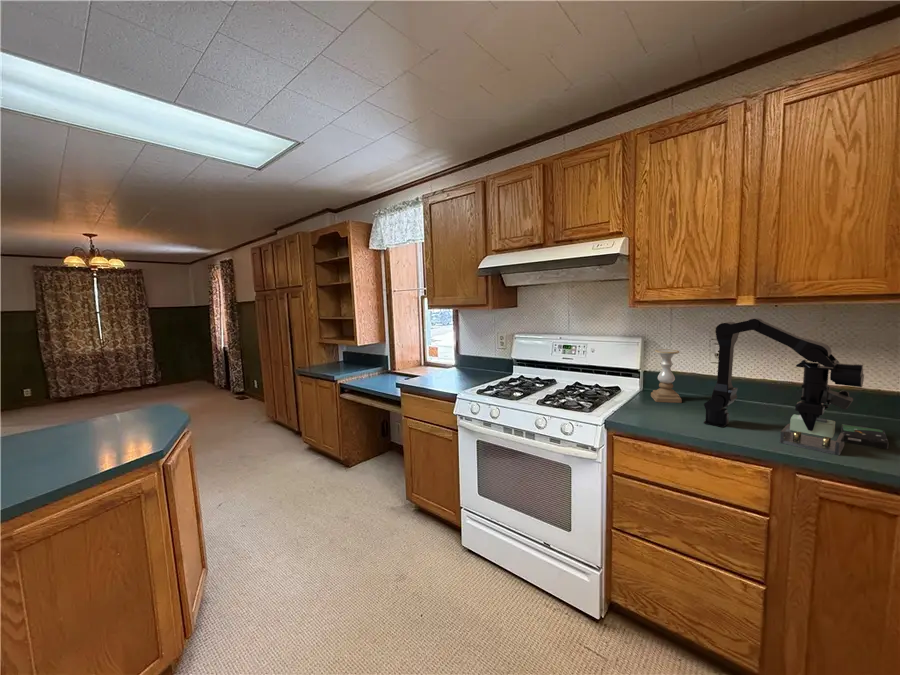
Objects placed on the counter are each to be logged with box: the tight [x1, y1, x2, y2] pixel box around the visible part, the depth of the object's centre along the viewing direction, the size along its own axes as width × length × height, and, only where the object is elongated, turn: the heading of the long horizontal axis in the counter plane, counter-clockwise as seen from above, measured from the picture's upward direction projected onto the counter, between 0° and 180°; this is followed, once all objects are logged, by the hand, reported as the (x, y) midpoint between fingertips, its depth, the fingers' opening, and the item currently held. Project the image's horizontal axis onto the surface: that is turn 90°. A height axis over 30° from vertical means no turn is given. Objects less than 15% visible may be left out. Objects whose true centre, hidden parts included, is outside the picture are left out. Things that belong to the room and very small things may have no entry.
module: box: [789, 413, 836, 439], centre depth 121 cm, size 10×6×5 cm, turn 40°
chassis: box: [778, 423, 845, 456], centre depth 122 cm, size 14×11×4 cm
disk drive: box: [840, 423, 890, 450], centre depth 125 cm, size 10×3×15 cm
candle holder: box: [650, 348, 683, 404], centre depth 177 cm, size 11×11×24 cm
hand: (812, 428), depth 122 cm, fingers closed on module, 6 cm apart
